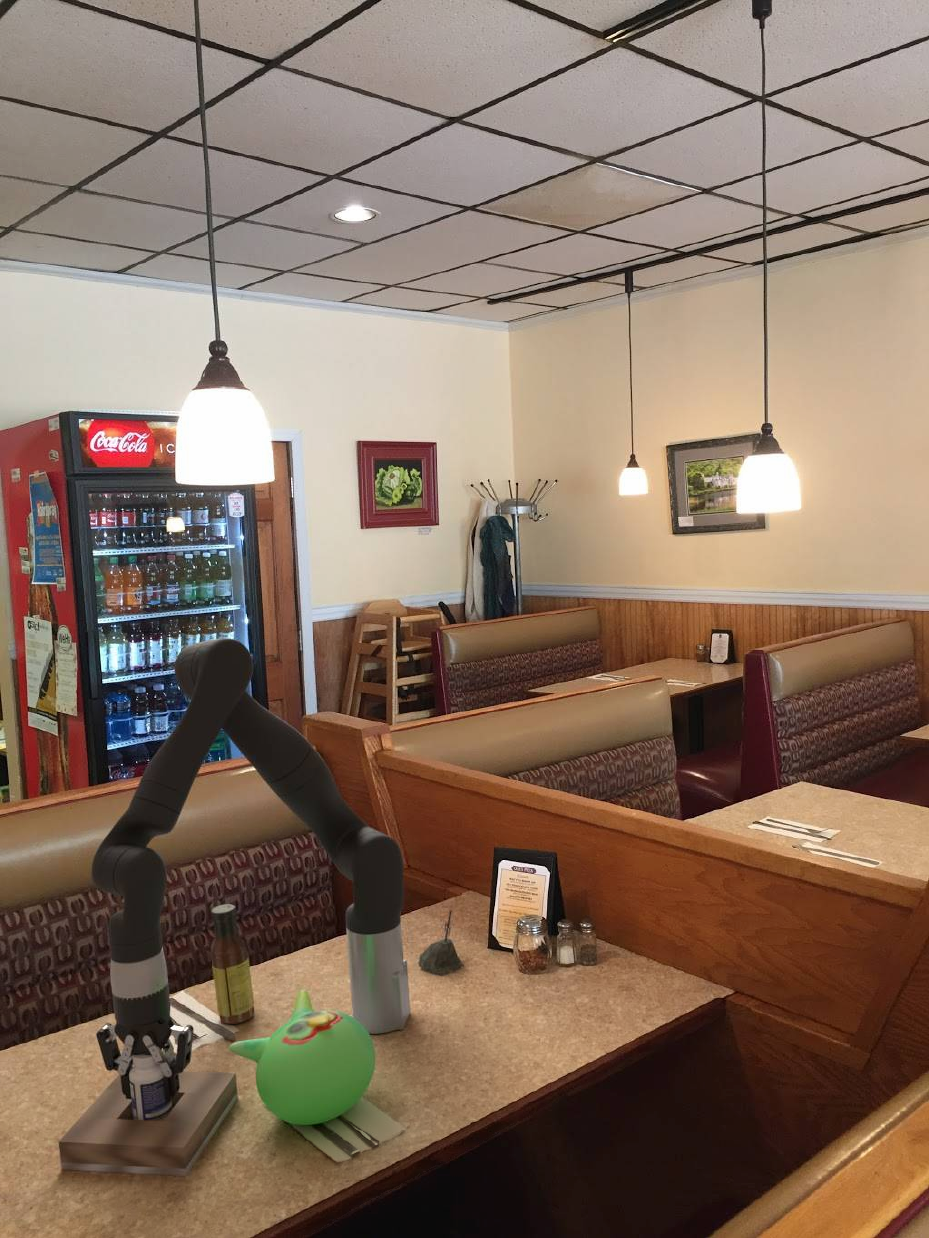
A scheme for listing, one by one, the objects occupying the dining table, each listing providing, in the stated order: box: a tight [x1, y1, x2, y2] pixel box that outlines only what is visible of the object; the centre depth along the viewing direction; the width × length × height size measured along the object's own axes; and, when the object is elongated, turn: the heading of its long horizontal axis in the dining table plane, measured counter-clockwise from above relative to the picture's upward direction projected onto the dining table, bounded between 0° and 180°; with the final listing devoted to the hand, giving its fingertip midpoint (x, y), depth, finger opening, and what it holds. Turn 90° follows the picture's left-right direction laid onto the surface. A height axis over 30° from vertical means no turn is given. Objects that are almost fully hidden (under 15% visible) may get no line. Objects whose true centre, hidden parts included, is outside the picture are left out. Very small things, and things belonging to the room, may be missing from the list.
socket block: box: [58, 1070, 239, 1177], centre depth 145 cm, size 18×18×4 cm
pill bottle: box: [129, 1048, 173, 1121], centre depth 145 cm, size 5×5×10 cm
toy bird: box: [229, 989, 376, 1126], centre depth 148 cm, size 18×17×15 cm
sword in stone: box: [418, 909, 465, 977], centre depth 194 cm, size 10×8×12 cm
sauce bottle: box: [210, 903, 255, 1025], centre depth 177 cm, size 7×6×20 cm
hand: (151, 1096), depth 145 cm, fingers closed on pill bottle, 5 cm apart
